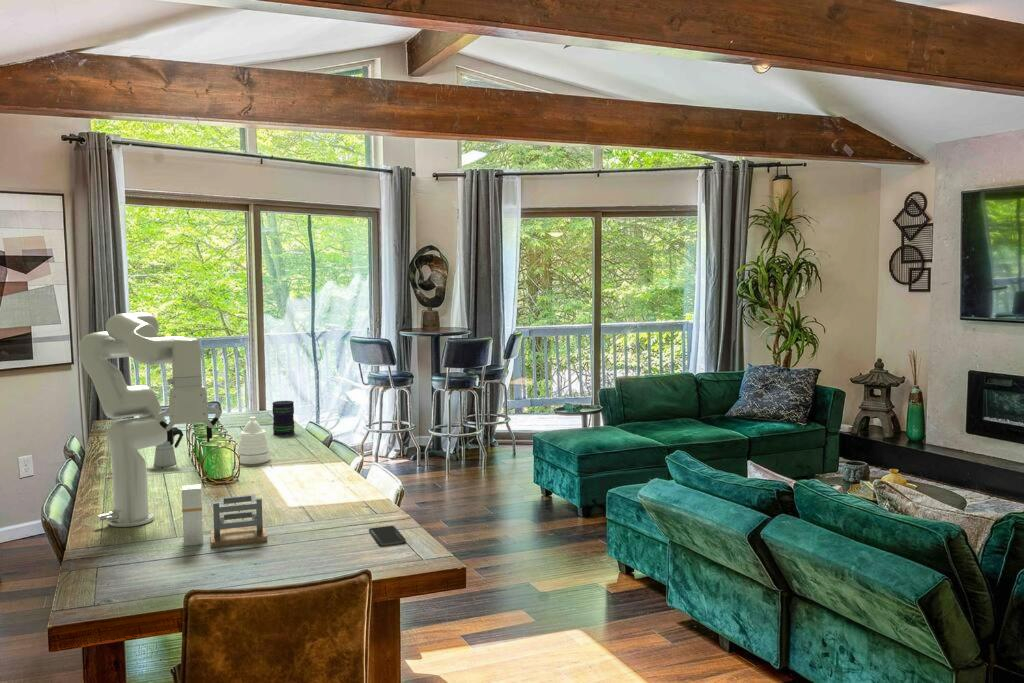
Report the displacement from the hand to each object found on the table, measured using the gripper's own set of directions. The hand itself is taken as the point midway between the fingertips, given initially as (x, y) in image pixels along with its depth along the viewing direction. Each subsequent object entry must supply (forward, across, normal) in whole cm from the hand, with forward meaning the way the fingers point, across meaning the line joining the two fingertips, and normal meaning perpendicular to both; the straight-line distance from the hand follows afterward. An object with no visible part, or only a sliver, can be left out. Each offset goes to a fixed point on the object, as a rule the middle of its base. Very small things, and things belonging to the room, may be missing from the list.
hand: (190, 442), depth 229 cm
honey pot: (+28, +21, +99) cm, 105 cm away
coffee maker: (+28, -11, +104) cm, 108 cm away
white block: (+29, 0, 0) cm, 29 cm away
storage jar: (+28, +38, +151) cm, 158 cm away
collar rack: (+29, +12, -2) cm, 31 cm away
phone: (+30, +52, -15) cm, 62 cm away
